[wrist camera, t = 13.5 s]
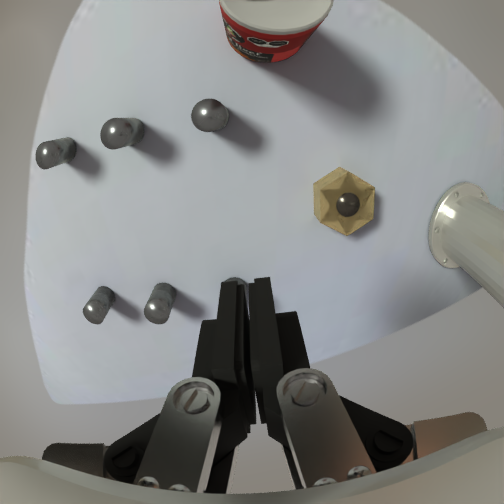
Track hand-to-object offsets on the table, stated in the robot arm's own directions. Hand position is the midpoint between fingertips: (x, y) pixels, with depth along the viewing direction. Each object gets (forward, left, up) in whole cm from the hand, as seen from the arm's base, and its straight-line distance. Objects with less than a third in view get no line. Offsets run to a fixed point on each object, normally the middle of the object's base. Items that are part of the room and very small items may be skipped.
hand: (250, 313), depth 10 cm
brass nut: (-10, +2, -22) cm, 24 cm away
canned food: (-3, -17, -22) cm, 27 cm away
